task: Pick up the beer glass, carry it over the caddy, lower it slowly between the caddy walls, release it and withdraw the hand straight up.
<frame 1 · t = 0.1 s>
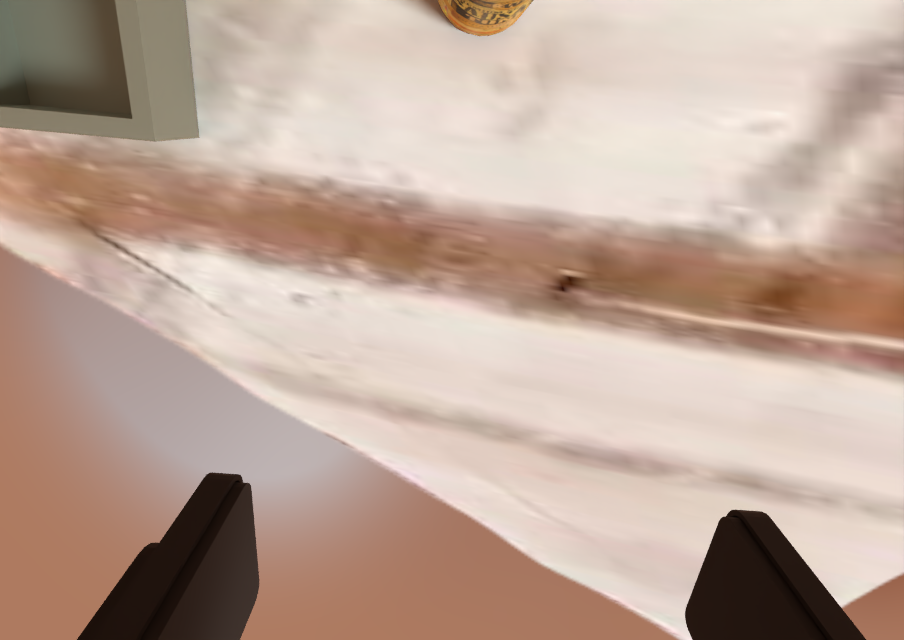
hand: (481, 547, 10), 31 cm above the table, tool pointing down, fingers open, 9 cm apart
caddy: (97, 32, 34), on the table
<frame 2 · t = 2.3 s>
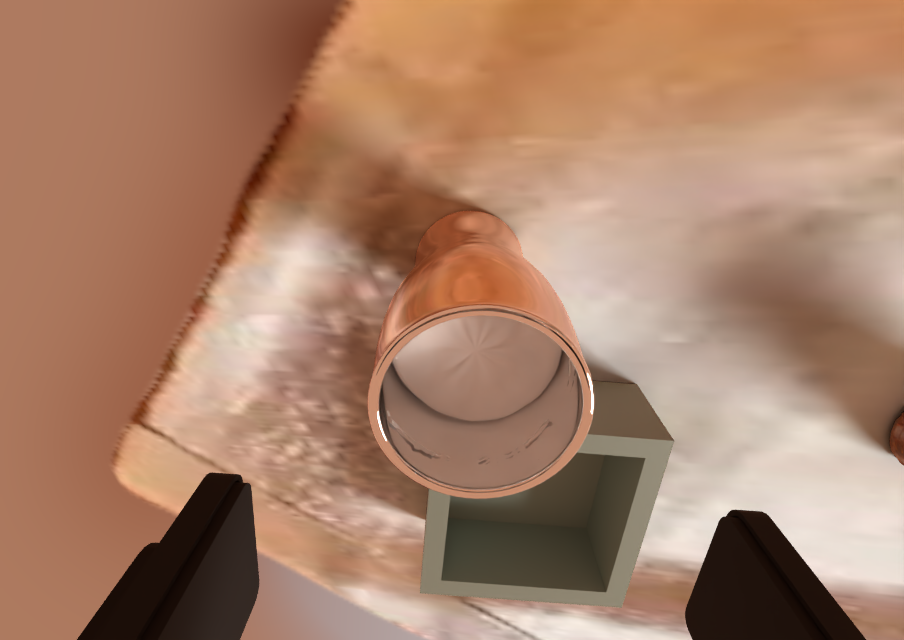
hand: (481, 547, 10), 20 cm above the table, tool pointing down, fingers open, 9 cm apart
caddy: (524, 457, 33), on the table
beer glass: (469, 262, 28), on the table
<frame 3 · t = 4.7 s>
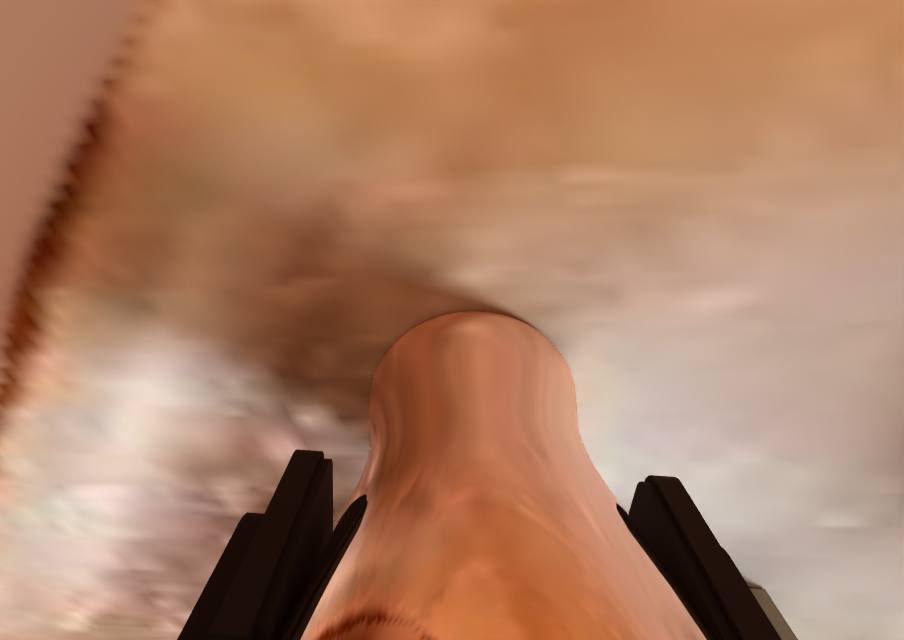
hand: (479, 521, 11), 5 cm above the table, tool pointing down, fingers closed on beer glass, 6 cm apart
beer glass: (472, 400, 15), on the table, touching gripper
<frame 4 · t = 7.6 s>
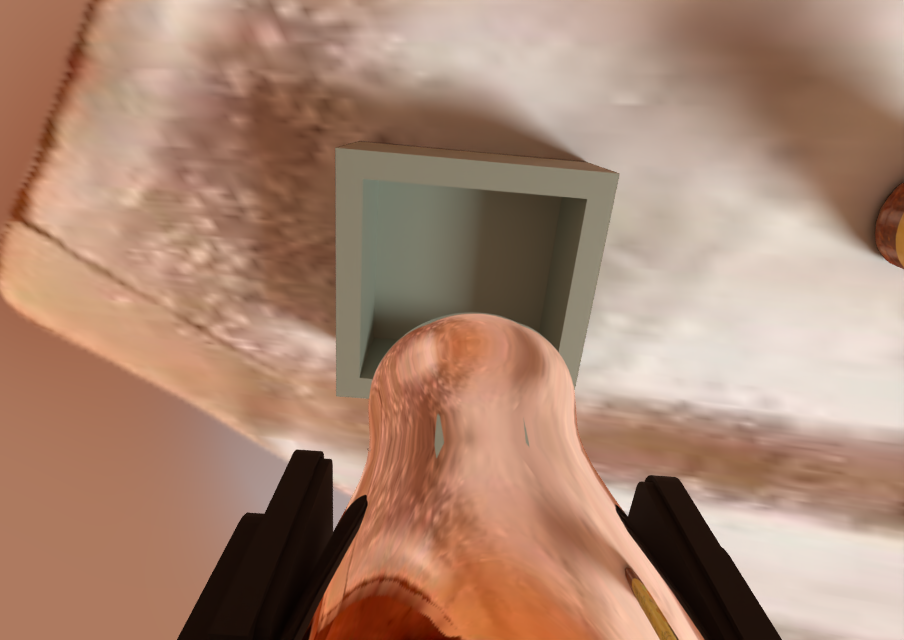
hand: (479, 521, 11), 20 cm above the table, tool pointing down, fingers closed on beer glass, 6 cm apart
caddy: (462, 262, 29), on the table
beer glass: (471, 400, 15), point 15 cm above the table, touching gripper
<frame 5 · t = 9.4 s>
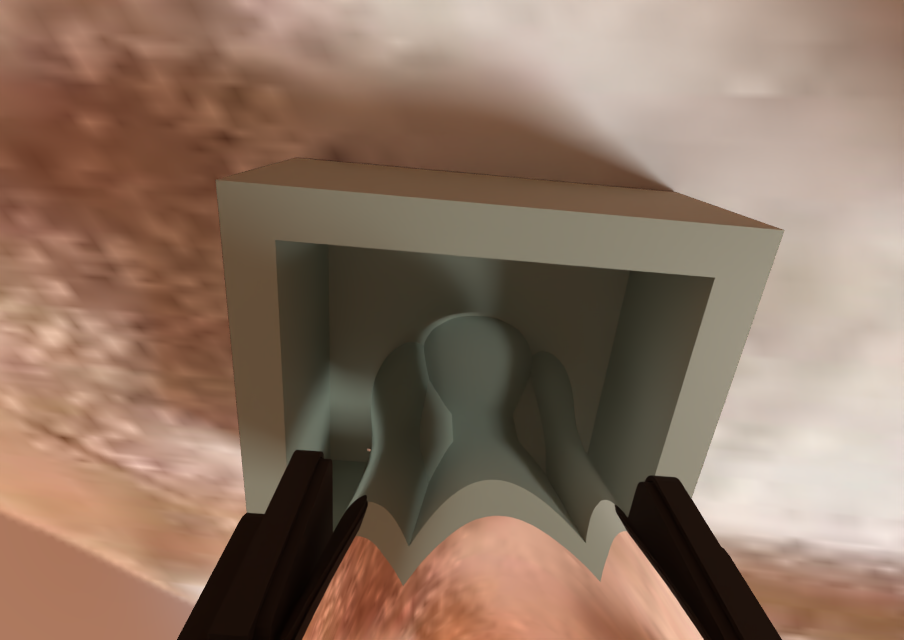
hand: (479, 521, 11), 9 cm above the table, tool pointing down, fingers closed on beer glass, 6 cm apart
caddy: (469, 346, 18), on the table
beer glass: (471, 400, 15), point 4 cm above the table, touching gripper
when the fingers open (7 cm above the table, at t = 10.7 s): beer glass drops 1 cm, resting on caddy.
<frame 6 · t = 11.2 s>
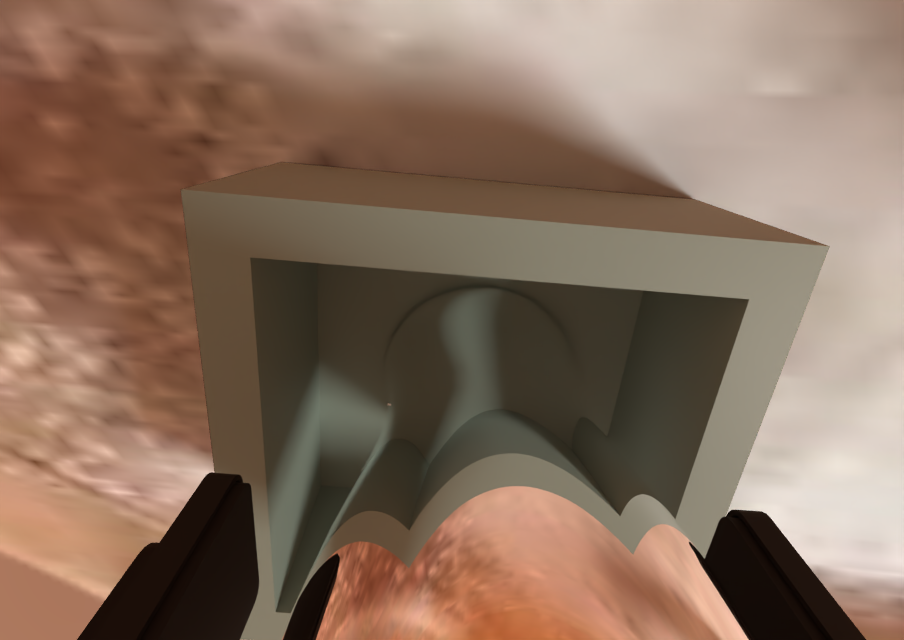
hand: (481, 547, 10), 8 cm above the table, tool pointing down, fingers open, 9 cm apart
caddy: (469, 365, 17), on the table
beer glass: (477, 369, 16), point 1 cm above the table, touching caddy
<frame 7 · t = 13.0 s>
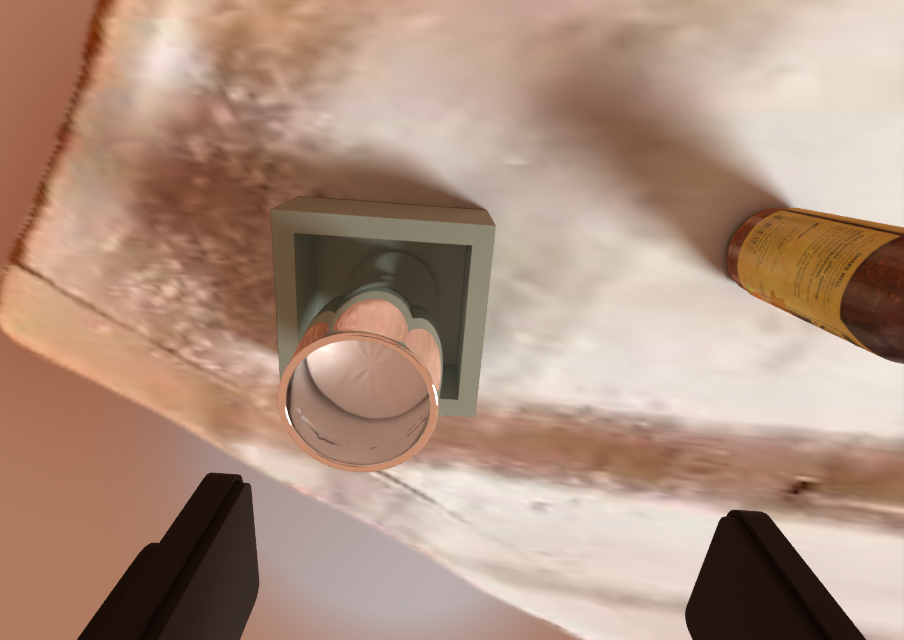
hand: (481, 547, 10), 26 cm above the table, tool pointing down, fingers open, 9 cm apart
sauce bottle: (766, 247, 35), on the table
caddy: (390, 292, 35), on the table
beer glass: (393, 292, 34), point 1 cm above the table, touching caddy
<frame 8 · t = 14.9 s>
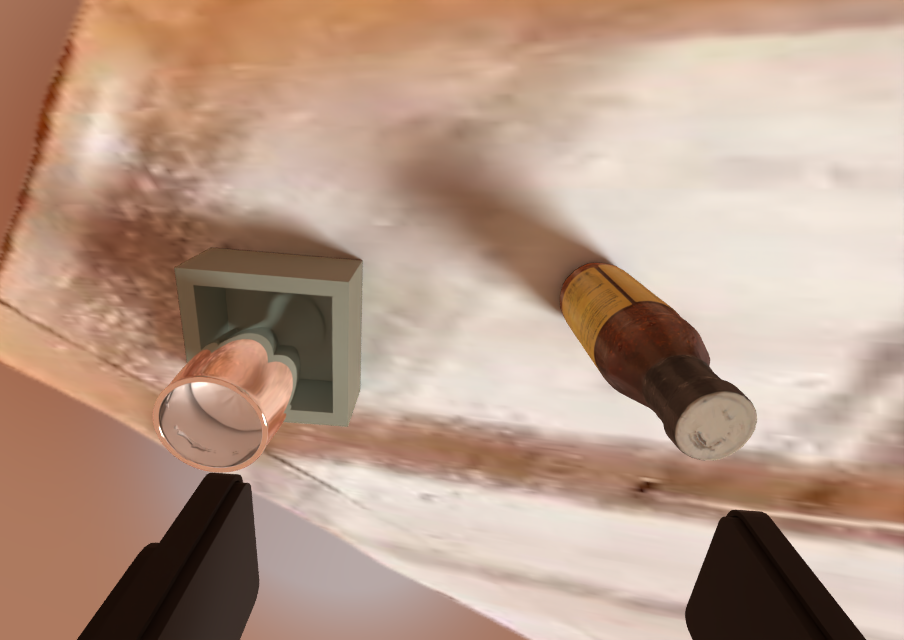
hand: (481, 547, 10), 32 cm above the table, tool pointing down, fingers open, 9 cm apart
sauce bottle: (595, 292, 42), on the table
caddy: (290, 323, 43), on the table
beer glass: (290, 324, 43), point 1 cm above the table, touching caddy
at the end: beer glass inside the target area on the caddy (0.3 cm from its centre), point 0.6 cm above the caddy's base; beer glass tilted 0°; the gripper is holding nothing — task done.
